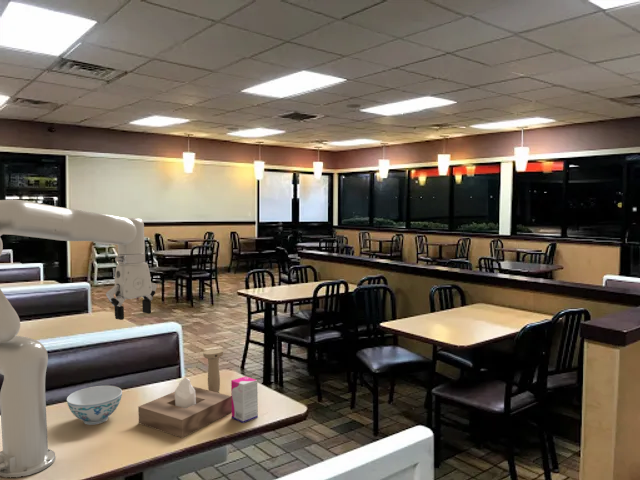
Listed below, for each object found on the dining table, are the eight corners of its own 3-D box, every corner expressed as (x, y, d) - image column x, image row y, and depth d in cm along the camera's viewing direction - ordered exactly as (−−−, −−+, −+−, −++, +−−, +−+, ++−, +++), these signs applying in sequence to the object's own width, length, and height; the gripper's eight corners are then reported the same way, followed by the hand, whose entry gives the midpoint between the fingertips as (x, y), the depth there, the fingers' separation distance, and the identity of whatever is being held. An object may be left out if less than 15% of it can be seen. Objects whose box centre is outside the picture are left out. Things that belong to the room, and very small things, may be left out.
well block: (182, 437, 138) (181, 420, 137) (138, 423, 147) (138, 406, 147) (231, 412, 155) (231, 396, 154) (190, 400, 164) (189, 385, 164)
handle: (226, 396, 168) (225, 351, 167) (207, 400, 164) (206, 355, 163) (220, 391, 172) (219, 348, 171) (202, 395, 168) (201, 351, 167)
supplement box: (258, 417, 151) (258, 379, 150) (243, 423, 147) (242, 385, 146) (246, 411, 155) (245, 375, 154) (230, 418, 151) (230, 380, 150)
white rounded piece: (174, 382, 146) (173, 376, 152) (176, 423, 147) (174, 415, 153) (196, 380, 149) (194, 374, 154) (197, 420, 149) (195, 412, 155)
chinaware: (59, 420, 150) (58, 395, 149) (109, 405, 161) (108, 382, 160) (80, 436, 139) (79, 409, 139) (132, 419, 150) (131, 393, 150)
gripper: (114, 263, 141) (116, 323, 142) (163, 257, 156) (164, 312, 157) (97, 261, 145) (100, 320, 146) (147, 256, 160) (148, 309, 161)
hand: (133, 316), depth 152 cm, fingers open, 9 cm apart
